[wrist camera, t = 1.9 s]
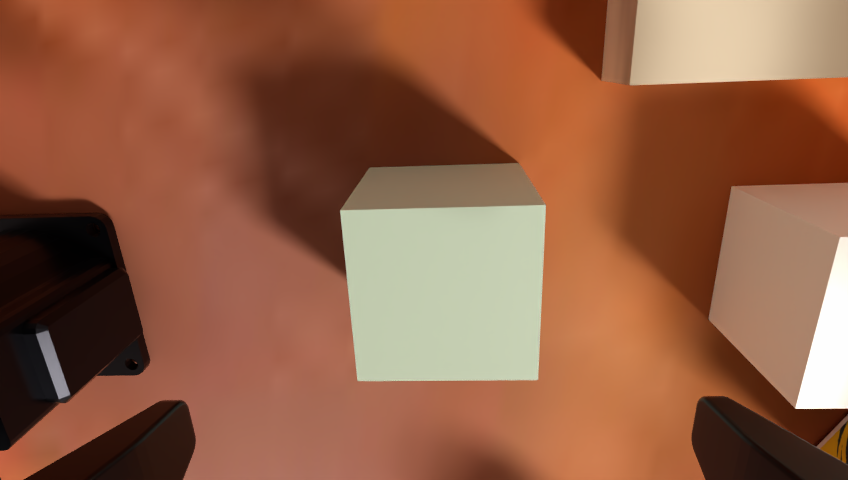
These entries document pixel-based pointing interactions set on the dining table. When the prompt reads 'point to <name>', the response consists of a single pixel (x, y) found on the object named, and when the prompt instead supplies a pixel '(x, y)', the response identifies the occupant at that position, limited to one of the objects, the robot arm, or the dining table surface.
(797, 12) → the base block
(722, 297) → the cream cube
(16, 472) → the dining table surface
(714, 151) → the dining table surface
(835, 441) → the medicine bottle
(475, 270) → the green cube
